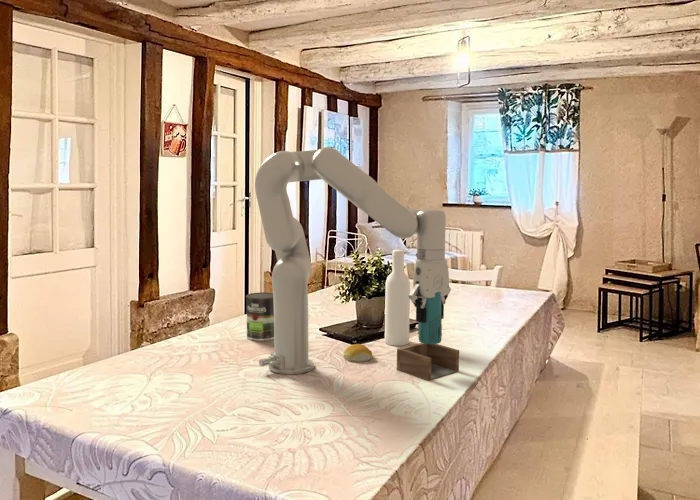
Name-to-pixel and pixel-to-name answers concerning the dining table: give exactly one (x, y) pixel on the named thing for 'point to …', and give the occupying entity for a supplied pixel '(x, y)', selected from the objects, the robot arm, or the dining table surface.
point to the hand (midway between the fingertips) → (429, 319)
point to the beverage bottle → (431, 321)
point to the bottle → (397, 303)
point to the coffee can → (260, 316)
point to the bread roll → (357, 353)
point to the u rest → (427, 360)
